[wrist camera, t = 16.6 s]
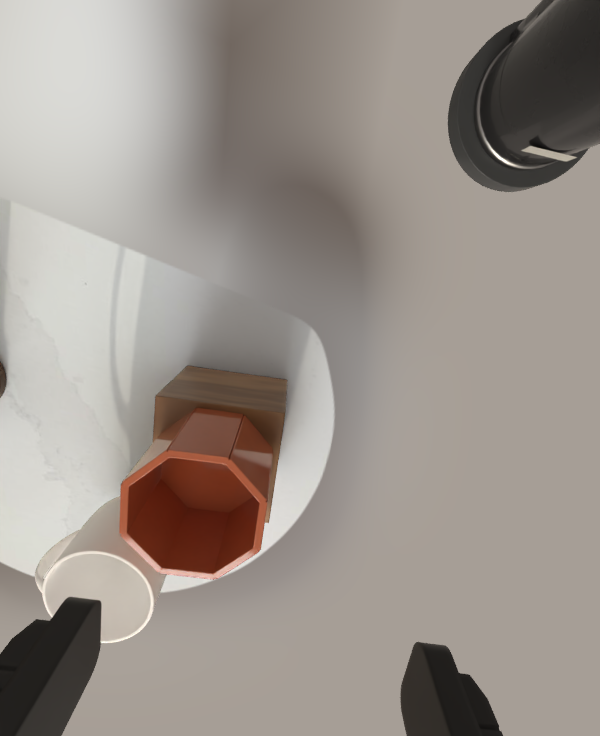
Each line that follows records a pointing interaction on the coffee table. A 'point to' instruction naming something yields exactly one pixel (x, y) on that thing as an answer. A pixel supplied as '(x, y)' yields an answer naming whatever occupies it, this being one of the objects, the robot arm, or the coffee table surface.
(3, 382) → the coaster
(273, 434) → the riser
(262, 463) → the terracotta cup
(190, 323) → the coffee table surface
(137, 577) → the mug
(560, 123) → the robot arm
